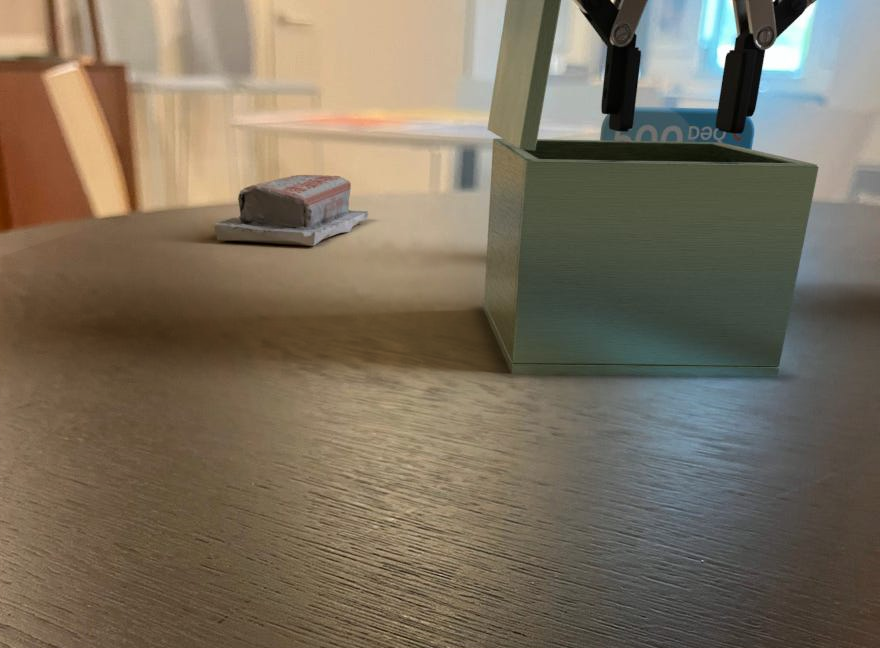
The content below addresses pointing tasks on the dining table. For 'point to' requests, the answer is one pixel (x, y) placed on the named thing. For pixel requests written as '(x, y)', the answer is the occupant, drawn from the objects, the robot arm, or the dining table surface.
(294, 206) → the packaged product
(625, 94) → the robot arm
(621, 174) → the bin
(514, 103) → the bin lid
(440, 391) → the dining table surface
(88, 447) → the dining table surface
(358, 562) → the dining table surface
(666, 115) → the data package
